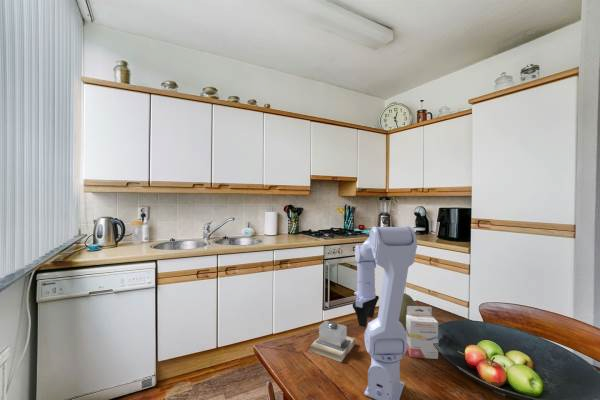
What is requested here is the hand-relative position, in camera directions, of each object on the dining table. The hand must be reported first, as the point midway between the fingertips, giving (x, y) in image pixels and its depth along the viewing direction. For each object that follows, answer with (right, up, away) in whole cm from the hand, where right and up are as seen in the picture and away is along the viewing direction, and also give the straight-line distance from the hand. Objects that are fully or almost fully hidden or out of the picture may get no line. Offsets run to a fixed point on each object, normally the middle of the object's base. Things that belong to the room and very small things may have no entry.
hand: (366, 321), depth 86 cm
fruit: (+16, -10, +11) cm, 22 cm away
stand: (-11, -10, +1) cm, 15 cm away
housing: (-11, -7, +1) cm, 13 cm away
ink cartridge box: (+17, -10, -3) cm, 20 cm away
